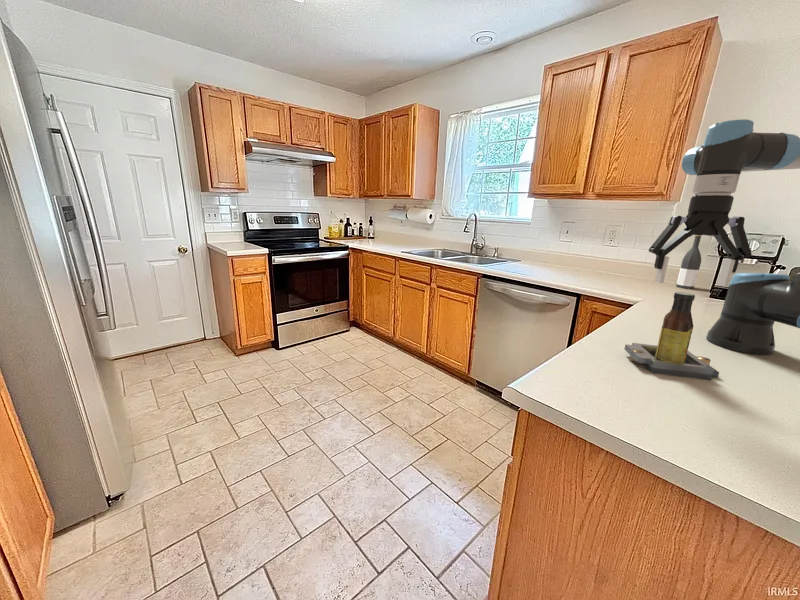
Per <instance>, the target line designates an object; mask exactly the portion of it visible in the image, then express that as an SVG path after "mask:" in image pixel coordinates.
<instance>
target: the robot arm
mask: <svg viewBox="0 0 800 600" xmlns="http://www.w3.org/2000/svg"><path fill="white" fill-rule="evenodd" d="M754 124H755V123H754V121H753V120H751V119H745V118H743V119H741V118H740V119H732V120H726V121H725V120H723V121H720V122H717V123H713V124H712V125H711V126H709V128H708V130H707V131H706V132H707V133H706V135H705V138H704V141H703V143H702V144H701V145H699V146H698V145H697V146H694V147H692V148H690V149H688V150H687V152H685V154H684V155H683V157H682V160H681V169H682V171H683V172H684V173H685V174H686V175H688V176H689V175H690V176H695V179H694V183H693V184H694V185H693V188H692V192H691V193H692V194H693V195H692V197H690V200H689V205H688V211H687V215H685V216H682V215H672V216H671V217H670V219H669V222H668V224H667V226H666V227H665V229H663V231H662V232H661V233H660V234H659V236H658V237H657V238H656V240H655V241H654V242H653V243H652V244H651V246H650V247H649V248H648V252H649V253H651V254H654V255H655V256H656V257H655V261H654V269H657V270H656V274H655V278H654V281H655V282H657V283H660V284H664V283H665V277H666V274H667V268H668V265H669V261H670V257H669V256H667V255H668V254H670V253H671V252H672V251H673V250H674V249H676V248H677V247H678V246H679V245H681V244H682V243H683V242H685V240H687V239H689V238H690V237H692V236H696V235H701V236H708V237H709V236H710V237H714V238H715V239H716V241H717V242H718V244H719V245H720V246H721V249H722V250H723V251H724V252H725V254H726V255H727V256H728V258H726V257H725V258H724V257H723V261H722V264H721V268H720V272H719V276H718V279H717V282H716V283H717V285H719V286H722V287H724V288H726V287H727V288H728V289H727V291H726V296H725V298H724V301H723V302H724V303H723V306H722V309H721V312H720V316H719V318H718V319H717V320H716V322H715V323H714V324H713V325H712V326H711V328H710V329H709V330H708V331H707V334H706V336H705V337H706V340H707V341H708V342H710V343H712V344H714V345H717V346H719V347H722V348H725V349H729V350H732V351H737V352H742V353H746V354H747V353H748V354H755V355H772V354H774V350H775V347H776V343H775V336H774V334H775V333H774V324H775V322H776V323H780V324H784V325H787V326H790V327H794V328H797V329H800V272H798V273H796V274H795V276H794V278H793V280H792V281H791V276H790V275H789V274H786V273H785V274H784V273H766V272H737V269H738V265H739V263H740V261H742V260H744V259H745V258H751V256H752V255H753V253H752V251H751V248H750V247H751V246H750V244H749V240H748V236H747V233H746V231H745V230H746V229H745V228H744V227H745V226H744V225H745V217H744V216H732V217H729V214H730V212H731V210H732V207H733V203H734V200H735V199H734V198H735V197H734V196H733V195H732V194H734V193H736V191H737V189H738V188H737V187H738V183H739V179H740V176H741V173H742V172H745V173H746V172H759V171H760V172H762V171H763V172H764V171H779V170H780V171H781V170H782V171H783V170H795V169H796V170H798V169H800V137H799V136H798V135H797V134H794V133H793V134H791V133H786V132H778V133H777V132H754ZM683 223H684V224H685V227H684V228H683V229H682V230H681V231H679V233H678V234H677V235H675V236H674V237H673V238H672V239H671V237H672V236H673V235H674V234H675V232H676V231H677V230H678V228H679V227H680V226H681V225H683ZM726 225H728V227H729V229H730V232H731V236H732V239H733V241H734V242H732V240H731V238H730V237H729V236H728V233H727V231H726V230H725V228H724V227H725V226H726ZM669 239H670V240H669ZM736 272H737V273H736ZM732 273H733V274H734V273H735V274H734V275H733V276H732Z"/></svg>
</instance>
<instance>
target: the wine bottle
mask: <svg viewBox="0 0 800 600" xmlns="http://www.w3.org/2000/svg"><path fill="white" fill-rule="evenodd" d="M701 239H702V235H694V240H693V243H692V244H693V245H692V247H691V248H690V249H688V251H687V252H686V253H685V255H684V256H683V258H682V261H681V264H680V268H679V272H678V277H677V281H676V284H675V287H676V288H679V289H686V290H694V289H695V286H696V282H697V279H698V275H699V273H700V272H699V270H700V267H701V264H702V254H701V252H700V249H699V247H700V242H701Z"/></svg>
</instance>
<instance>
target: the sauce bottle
mask: <svg viewBox="0 0 800 600" xmlns="http://www.w3.org/2000/svg"><path fill="white" fill-rule="evenodd" d="M695 297H696V295H695V294H694V293H690V292H685V291H684V292H683V291H676V292H674V294H673V302H672V306H671V309H670V311H668V312H667V313H666V314H665V315H664V318H663V322H662V326H661V328H660V333H659V338H658V342H657V350H656V355H655V357H654V358H655V359H657V360H659V361H667V362H676V363H685V359H686V355H687V351H689V346H690V343H691V339H692V334H693V330H694V322H693V314H692V306H693V301H694V300H695Z"/></svg>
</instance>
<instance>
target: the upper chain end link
mask: <svg viewBox="0 0 800 600" xmlns="http://www.w3.org/2000/svg"><path fill="white" fill-rule="evenodd" d="M657 346H658V344H655V345H654V344H646V343H645V344H644V343H639V342H638V343H637V342H636V343H635V342H632V344H625V346H624V351H625V352H626V353H627V354H628V355H629V359H628V360H629V362H631V363H633V364H637V365H639V364H640V365H642V364H641V363H644V364H649V365H650V366H651V367H652V368H661V369H669V370H677V371H686V372H694V373H702V374H711V375H713V372H714V369H715V368H714V367H712V366H711V365H710V364H709V365H708V364H706V363H705V362H703V361H702V360H701V359H698V358H697V356H696V355H695V354H694V353H692V352H691V351H689V350H688V351H687V355H686V360H688V361H689V362H690V363H692V364H685V363H676V362H667V361H659V360H657V359H655V357H653V356H652V355H651V354H650V353H649V352H647V351H650V352H656V350H657ZM713 368H714V369H713Z"/></svg>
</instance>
